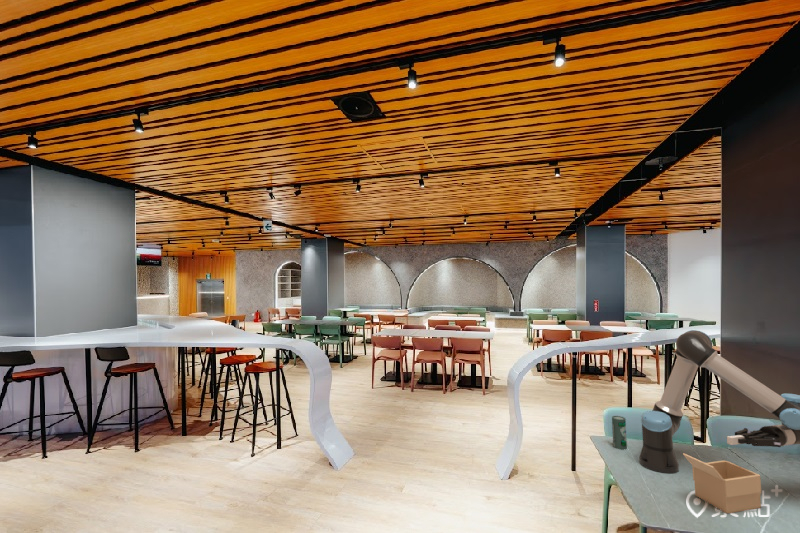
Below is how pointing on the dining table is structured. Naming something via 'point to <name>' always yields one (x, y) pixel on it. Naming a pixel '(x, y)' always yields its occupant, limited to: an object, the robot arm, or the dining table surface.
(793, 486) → the dining table surface
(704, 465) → the flap
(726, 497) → the carton
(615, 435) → the can
